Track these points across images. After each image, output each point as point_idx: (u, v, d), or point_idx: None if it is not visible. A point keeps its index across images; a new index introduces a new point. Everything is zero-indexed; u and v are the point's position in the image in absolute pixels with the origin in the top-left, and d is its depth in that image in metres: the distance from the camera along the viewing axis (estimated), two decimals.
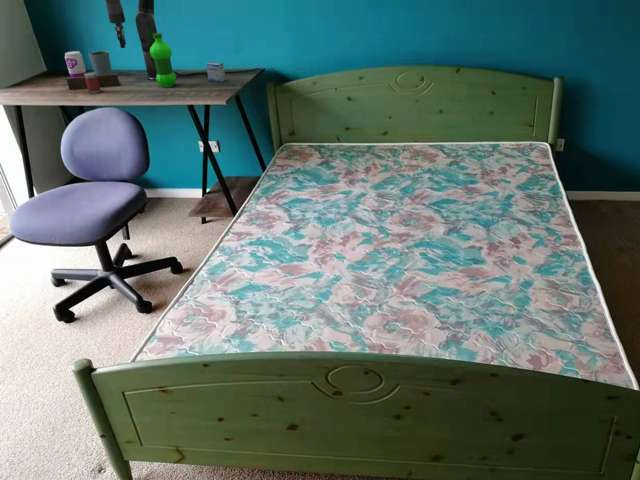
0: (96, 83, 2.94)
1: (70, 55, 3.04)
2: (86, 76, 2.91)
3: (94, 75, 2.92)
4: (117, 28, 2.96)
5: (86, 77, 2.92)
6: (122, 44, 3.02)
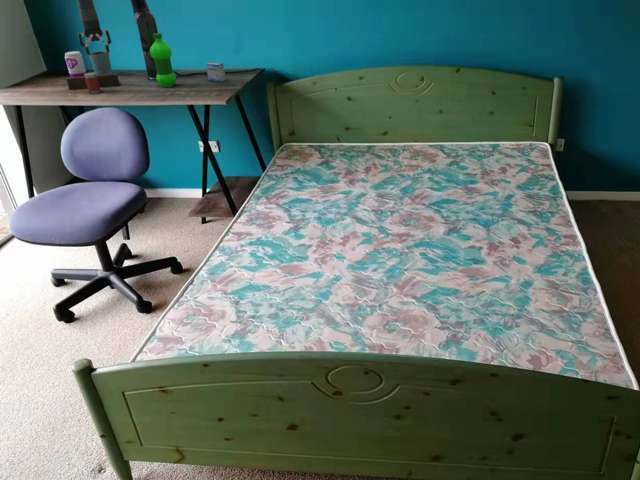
0: (96, 83, 2.94)
1: (70, 55, 3.04)
2: (86, 76, 2.91)
3: (94, 75, 2.92)
4: (78, 34, 2.88)
5: (86, 77, 2.92)
6: None
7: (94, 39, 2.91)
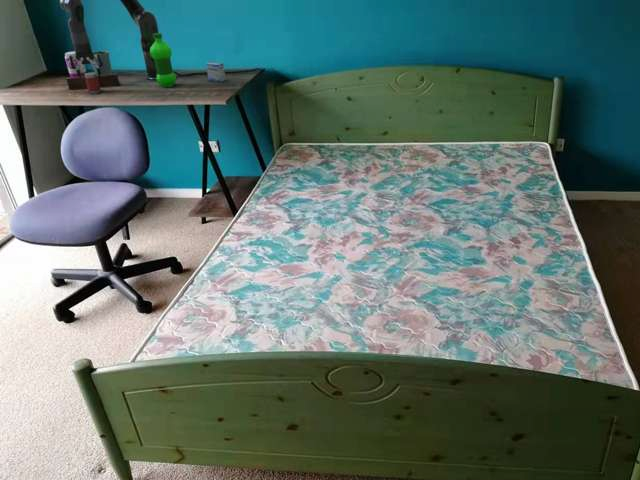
0: (96, 83, 2.94)
1: None
2: (86, 76, 2.91)
3: (94, 75, 2.92)
4: None
5: (86, 77, 2.92)
6: (77, 73, 2.92)
7: (85, 62, 2.89)
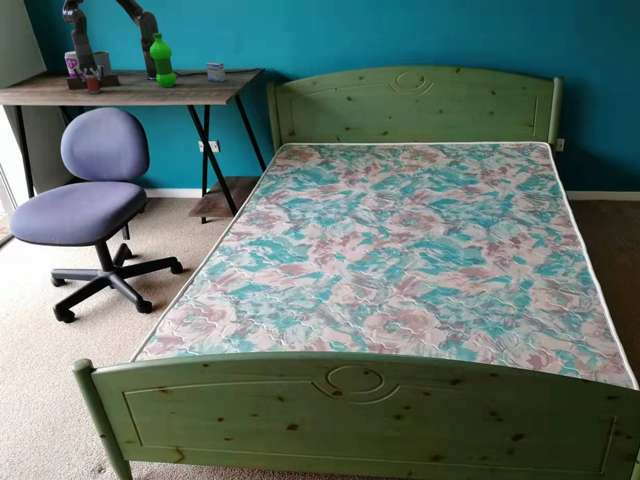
0: (96, 83, 2.94)
1: (70, 55, 3.04)
2: (86, 76, 2.91)
3: (94, 75, 2.92)
4: (74, 69, 2.90)
5: (86, 77, 2.92)
6: None
7: (88, 73, 2.92)
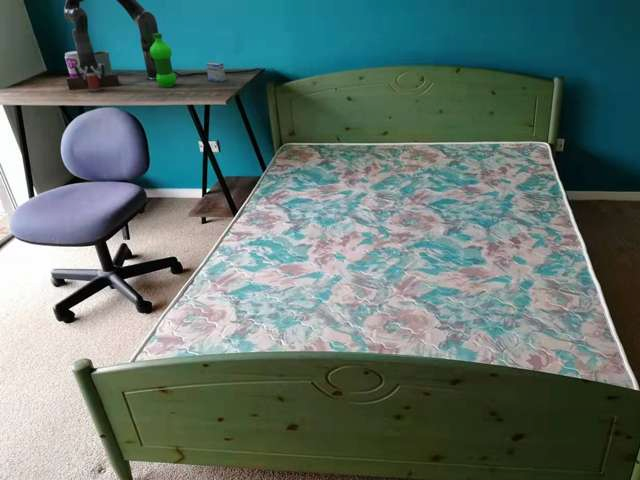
0: (97, 81, 2.98)
1: (70, 55, 3.04)
2: (87, 74, 2.94)
3: (95, 73, 2.96)
4: None
5: (87, 75, 2.95)
6: (84, 83, 2.98)
7: (89, 71, 2.95)
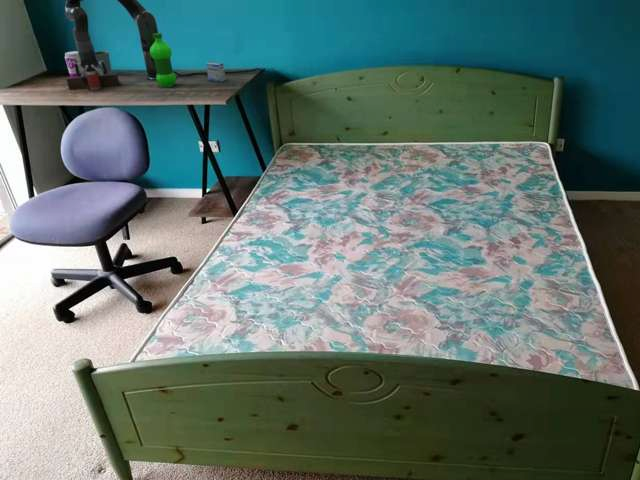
0: (97, 80, 3.00)
1: (70, 55, 3.04)
2: (87, 73, 2.97)
3: (95, 72, 2.98)
4: None
5: (87, 74, 2.97)
6: (82, 80, 3.00)
7: (90, 69, 2.98)
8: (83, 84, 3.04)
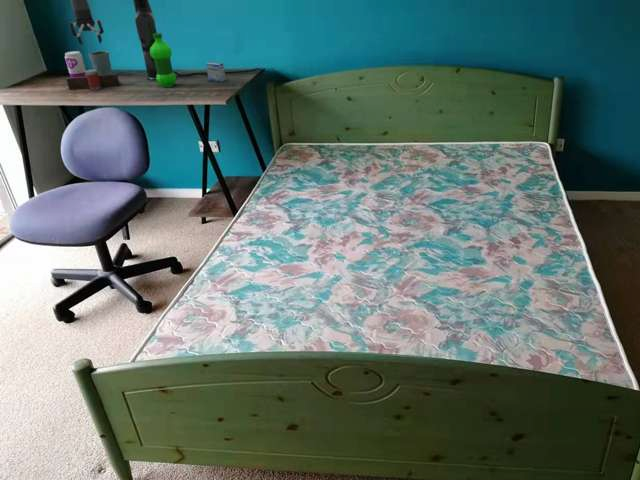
0: (97, 80, 3.00)
1: (70, 55, 3.04)
2: (87, 73, 2.97)
3: (95, 72, 2.98)
4: (70, 23, 2.90)
5: (87, 74, 2.97)
6: (78, 40, 2.94)
7: (86, 29, 2.91)
8: (83, 84, 3.04)
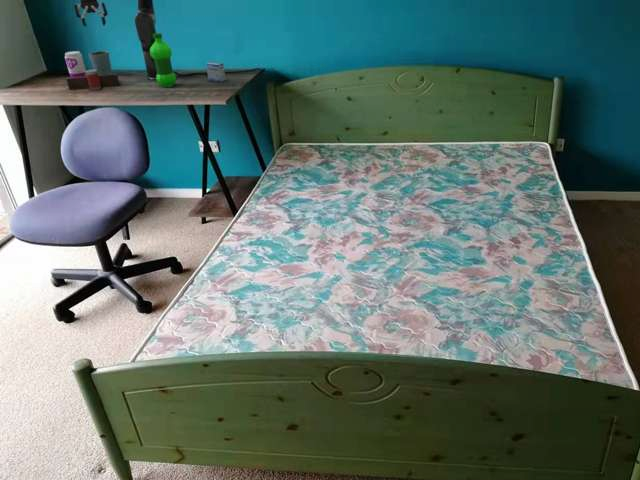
0: (97, 80, 3.00)
1: (70, 55, 3.04)
2: (87, 73, 2.97)
3: (95, 72, 2.98)
4: (74, 5, 2.90)
5: (87, 74, 2.97)
6: (82, 22, 2.95)
7: (90, 11, 2.92)
8: (83, 84, 3.04)
